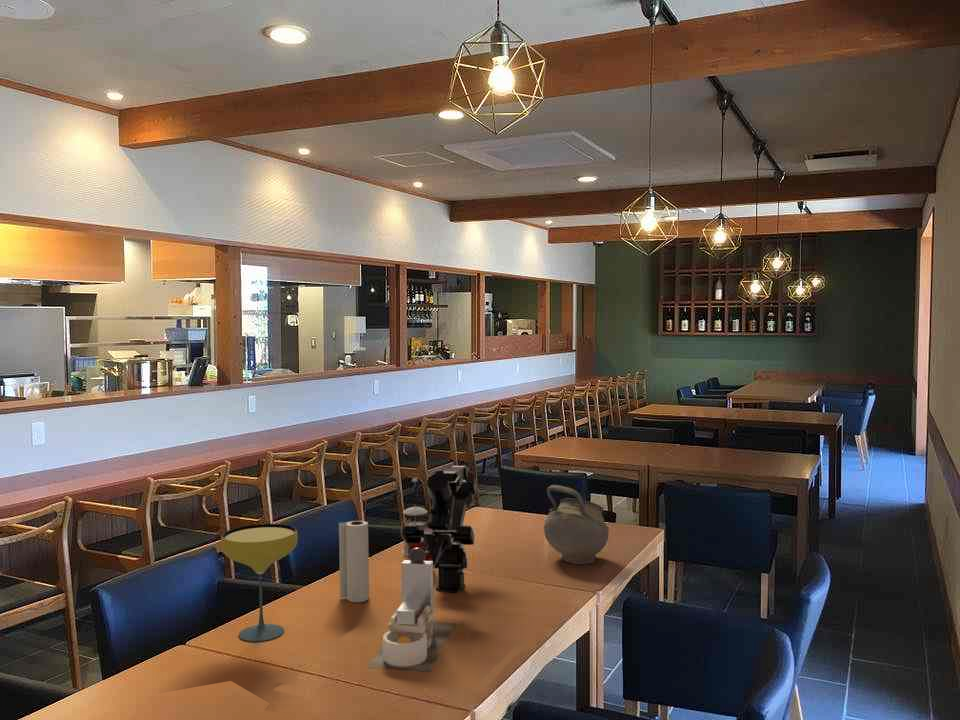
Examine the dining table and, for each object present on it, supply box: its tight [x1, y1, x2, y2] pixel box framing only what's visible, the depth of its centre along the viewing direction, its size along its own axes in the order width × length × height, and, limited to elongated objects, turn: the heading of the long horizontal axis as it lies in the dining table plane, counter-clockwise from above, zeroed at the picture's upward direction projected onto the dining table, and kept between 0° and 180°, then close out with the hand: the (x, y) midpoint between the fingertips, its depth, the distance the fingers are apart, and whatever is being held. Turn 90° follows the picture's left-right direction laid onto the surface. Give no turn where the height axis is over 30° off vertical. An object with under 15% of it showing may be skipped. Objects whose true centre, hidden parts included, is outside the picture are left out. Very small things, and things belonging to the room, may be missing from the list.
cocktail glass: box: [220, 523, 299, 643], centre depth 192 cm, size 18×18×25 cm
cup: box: [382, 630, 427, 667], centre depth 175 cm, size 10×10×5 cm
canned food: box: [407, 538, 435, 571], centre depth 240 cm, size 8×8×11 cm
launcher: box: [366, 603, 456, 673], centre depth 182 cm, size 28×14×10 cm, turn 171°
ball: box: [396, 636, 412, 643], centre depth 174 cm, size 4×4×4 cm
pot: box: [543, 484, 610, 565], centre depth 251 cm, size 21×21×25 cm
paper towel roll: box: [338, 520, 370, 603], centre depth 216 cm, size 7×6×21 cm
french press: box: [400, 477, 428, 557], centre depth 260 cm, size 10×12×25 cm
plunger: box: [396, 547, 435, 635], centre depth 181 cm, size 13×7×21 cm, turn 171°
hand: (433, 563), depth 203 cm, fingers closed
